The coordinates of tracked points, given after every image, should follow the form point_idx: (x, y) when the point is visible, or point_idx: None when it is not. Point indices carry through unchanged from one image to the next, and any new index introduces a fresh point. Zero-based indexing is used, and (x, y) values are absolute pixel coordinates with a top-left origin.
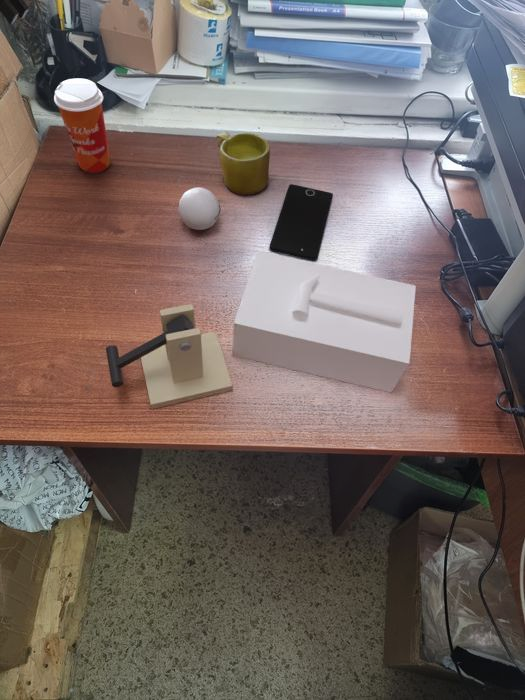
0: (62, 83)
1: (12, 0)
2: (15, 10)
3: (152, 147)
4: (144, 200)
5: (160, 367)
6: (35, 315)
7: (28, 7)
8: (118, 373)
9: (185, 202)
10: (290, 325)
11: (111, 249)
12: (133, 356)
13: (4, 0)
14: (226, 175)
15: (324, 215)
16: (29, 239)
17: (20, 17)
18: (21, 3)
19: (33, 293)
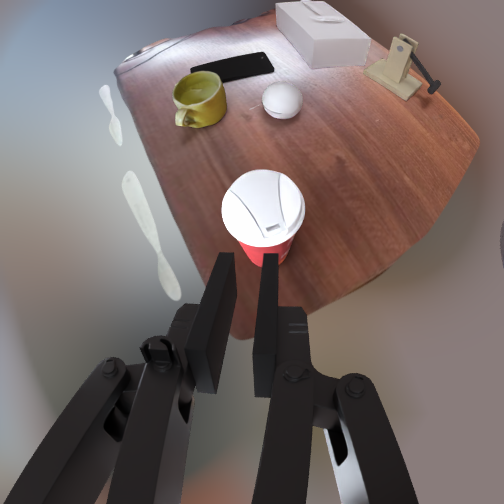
0: (260, 233)
1: (228, 301)
2: (266, 258)
3: (200, 209)
4: (287, 164)
5: (405, 84)
6: (442, 168)
7: (219, 254)
8: (436, 81)
9: (295, 94)
10: (348, 24)
11: (361, 154)
12: (427, 72)
13: (276, 279)
14: (223, 105)
15: (218, 61)
16: (405, 224)
17: (236, 294)
18: (228, 262)
19: (434, 181)
